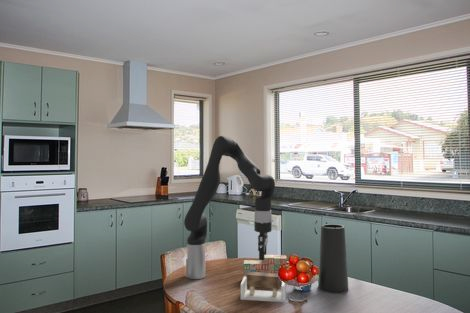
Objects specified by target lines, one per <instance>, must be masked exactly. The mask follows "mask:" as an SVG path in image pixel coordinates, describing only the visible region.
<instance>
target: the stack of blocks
mask: <svg viewBox="0 0 470 313" xmlns="http://www.w3.org/2000/svg"><path fill="white" fill-rule="evenodd" d="M287 260H288V259H287V255H284V254H266V255H264V260H251V259H250V260H247V259H246V260H245V259H244V260H243V278H244V277H247V274H248V272H261V273H273V274H278V268H279V267H280V266H281V265H282V264H286V263H287V264H288V261H287ZM280 284H282V282H281V281H280Z"/></svg>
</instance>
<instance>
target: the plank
mask: <svg viewBox="0 0 470 313" xmlns="http://www.w3.org/2000/svg"><path fill="white" fill-rule="evenodd" d="M250 286H253V287H255V288H265V289H273V288H275V289H277V290H278V289H279V288H280V287H281V283H280V279H279V276H278V274H273V273H261V272H248V274H247V287H250Z"/></svg>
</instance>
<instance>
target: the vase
mask: <svg viewBox="0 0 470 313" xmlns="http://www.w3.org/2000/svg"><path fill="white" fill-rule="evenodd" d="M345 230H346V229H345V226H344V225H343V224H342V225H341V224H337V223H335V224H333V223H329V224H322V225H320V239H319V240H320V245H319V260H318V261H319V263H318V272H319V275H320V282H319V283H318V282H317V284H318V285H317V286H318V289H319V290H321V291H322V292H326V293H331V294H341V293H342V294H343V293H347V292H348V291H349V278H348V277H349V276H348V262H347V261H348V260H347V258H348V257H347V246H346V245H347V244H346V231H345ZM319 275H318V276H319Z"/></svg>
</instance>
